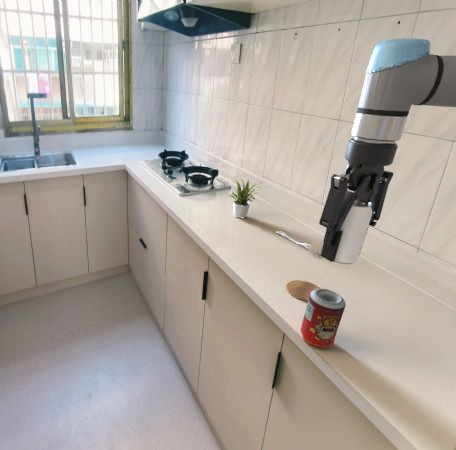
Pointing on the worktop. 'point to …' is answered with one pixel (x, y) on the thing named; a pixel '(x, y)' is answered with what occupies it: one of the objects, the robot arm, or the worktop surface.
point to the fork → (299, 243)
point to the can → (353, 232)
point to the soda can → (322, 318)
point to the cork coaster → (301, 289)
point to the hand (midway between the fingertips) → (340, 255)
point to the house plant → (242, 199)
